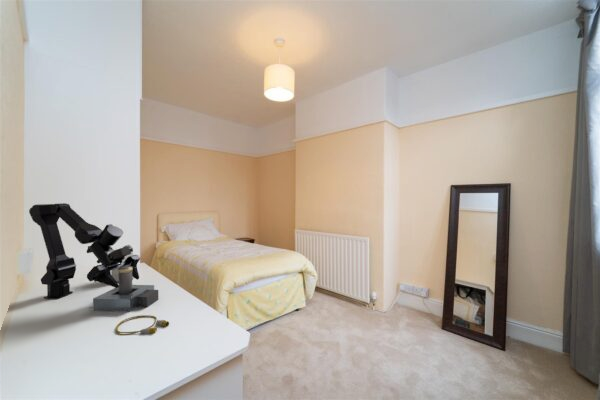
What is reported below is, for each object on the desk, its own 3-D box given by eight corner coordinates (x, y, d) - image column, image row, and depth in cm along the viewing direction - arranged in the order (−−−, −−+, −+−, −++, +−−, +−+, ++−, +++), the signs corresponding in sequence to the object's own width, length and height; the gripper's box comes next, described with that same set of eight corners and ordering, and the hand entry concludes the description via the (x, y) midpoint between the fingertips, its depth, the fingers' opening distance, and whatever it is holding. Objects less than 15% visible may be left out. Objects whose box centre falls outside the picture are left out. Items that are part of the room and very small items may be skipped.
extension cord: (127, 346, 70) (127, 339, 70) (110, 327, 80) (110, 321, 80) (171, 327, 80) (171, 321, 80) (150, 313, 90) (150, 307, 89)
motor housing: (93, 310, 90) (92, 298, 90) (122, 295, 104) (122, 284, 104) (140, 311, 90) (140, 299, 89) (163, 295, 104) (163, 285, 103)
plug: (117, 306, 94) (116, 270, 94) (119, 301, 98) (119, 266, 98) (131, 303, 96) (131, 268, 96) (133, 299, 100) (133, 265, 100)
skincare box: (134, 278, 124) (134, 248, 124) (120, 283, 118) (119, 251, 118) (124, 276, 128) (124, 246, 127) (110, 280, 122) (109, 249, 121)
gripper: (92, 244, 88) (118, 277, 86) (136, 235, 106) (159, 262, 104) (75, 265, 90) (100, 297, 88) (121, 253, 108) (143, 279, 106)
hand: (128, 282), depth 97 cm, fingers open, 9 cm apart
